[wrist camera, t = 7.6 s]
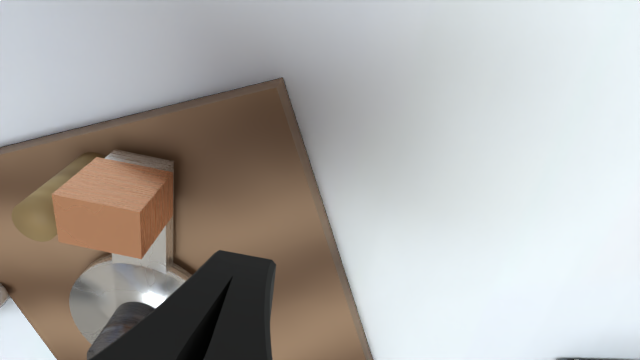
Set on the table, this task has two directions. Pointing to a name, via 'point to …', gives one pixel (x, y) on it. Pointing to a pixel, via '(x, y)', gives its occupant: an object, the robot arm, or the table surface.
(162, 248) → the dial plate
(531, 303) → the table surface
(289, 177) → the walnut board
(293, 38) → the table surface
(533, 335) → the table surface
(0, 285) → the chubby cartoon animal
